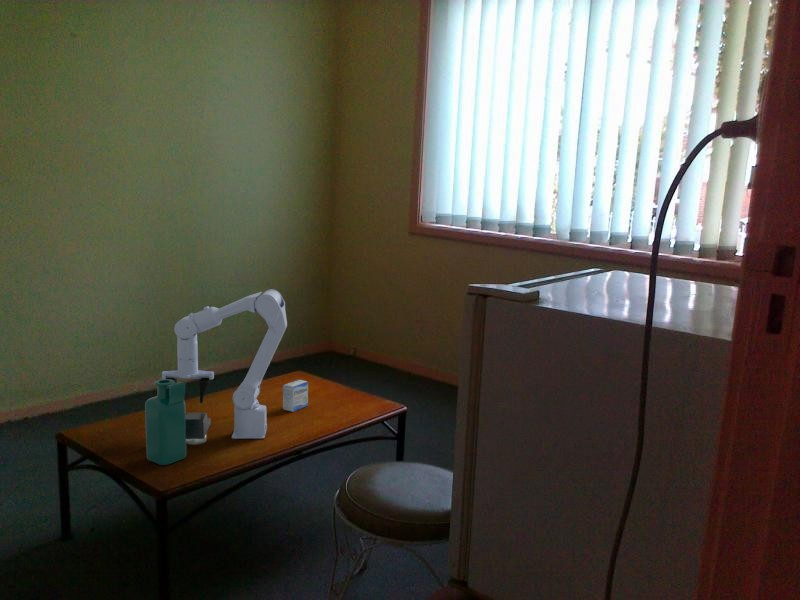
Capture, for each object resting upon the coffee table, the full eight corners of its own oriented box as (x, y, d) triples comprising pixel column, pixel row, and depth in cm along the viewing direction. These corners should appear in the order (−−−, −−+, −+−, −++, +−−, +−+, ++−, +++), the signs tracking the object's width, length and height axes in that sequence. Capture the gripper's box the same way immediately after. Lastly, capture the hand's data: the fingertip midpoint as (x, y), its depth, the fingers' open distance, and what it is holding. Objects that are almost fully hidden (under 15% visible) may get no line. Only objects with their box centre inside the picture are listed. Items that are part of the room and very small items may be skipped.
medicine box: (293, 412, 232) (293, 387, 231) (282, 409, 235) (282, 384, 233) (308, 406, 239) (308, 381, 237) (298, 403, 241) (298, 379, 240)
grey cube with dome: (187, 431, 208) (187, 412, 207) (207, 431, 209) (206, 412, 208) (183, 438, 203) (183, 419, 202) (203, 438, 203) (203, 419, 202)
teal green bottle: (143, 459, 192) (140, 380, 188) (169, 449, 199) (167, 374, 195) (167, 468, 186) (164, 388, 183) (192, 458, 193) (191, 380, 189)
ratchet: (194, 424, 219) (194, 409, 218) (214, 424, 220) (214, 409, 219) (183, 445, 203) (182, 429, 202) (204, 444, 203) (204, 429, 202)
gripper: (159, 361, 203) (160, 406, 206) (210, 361, 205) (211, 406, 207) (164, 354, 210) (165, 398, 213) (214, 355, 212) (215, 398, 214)
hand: (188, 402), depth 210 cm, fingers open, 7 cm apart
